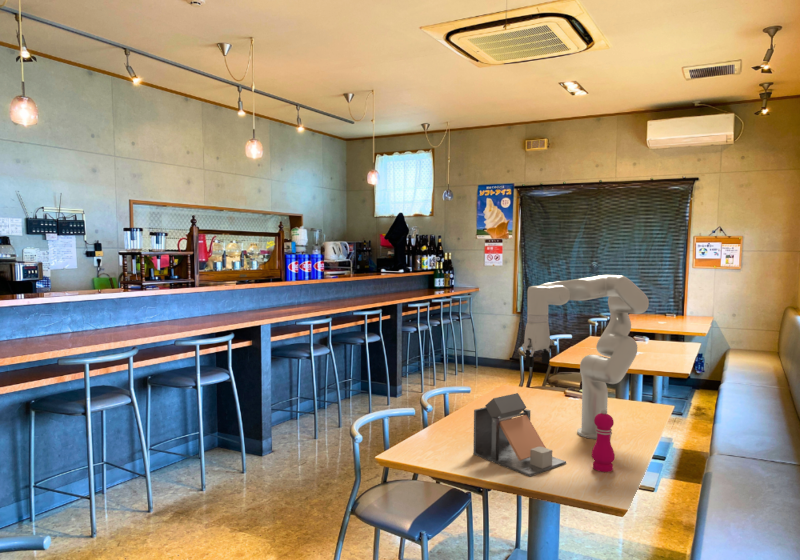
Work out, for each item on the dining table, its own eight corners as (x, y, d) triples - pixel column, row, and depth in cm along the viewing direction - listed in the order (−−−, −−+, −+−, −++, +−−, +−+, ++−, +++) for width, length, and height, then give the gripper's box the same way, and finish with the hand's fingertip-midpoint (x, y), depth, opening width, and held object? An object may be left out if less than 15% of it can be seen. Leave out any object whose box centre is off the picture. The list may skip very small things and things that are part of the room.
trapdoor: (510, 400, 205) (518, 392, 202) (542, 454, 195) (551, 448, 191) (484, 405, 197) (492, 398, 194) (515, 463, 186) (524, 456, 183)
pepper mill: (587, 464, 189) (589, 406, 188) (608, 464, 189) (609, 405, 189) (597, 473, 182) (598, 412, 181) (618, 472, 182) (619, 411, 181)
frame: (509, 443, 209) (509, 401, 209) (566, 463, 190) (567, 416, 189) (473, 454, 198) (474, 409, 197) (530, 476, 178) (530, 427, 177)
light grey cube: (540, 446, 190) (552, 450, 186) (539, 460, 190) (551, 465, 186) (530, 449, 187) (542, 453, 183) (530, 463, 187) (542, 468, 183)
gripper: (543, 316, 216) (543, 360, 217) (514, 320, 205) (514, 366, 206) (560, 318, 210) (560, 363, 211) (531, 322, 199) (531, 369, 200)
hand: (537, 364), depth 208 cm, fingers open, 9 cm apart
